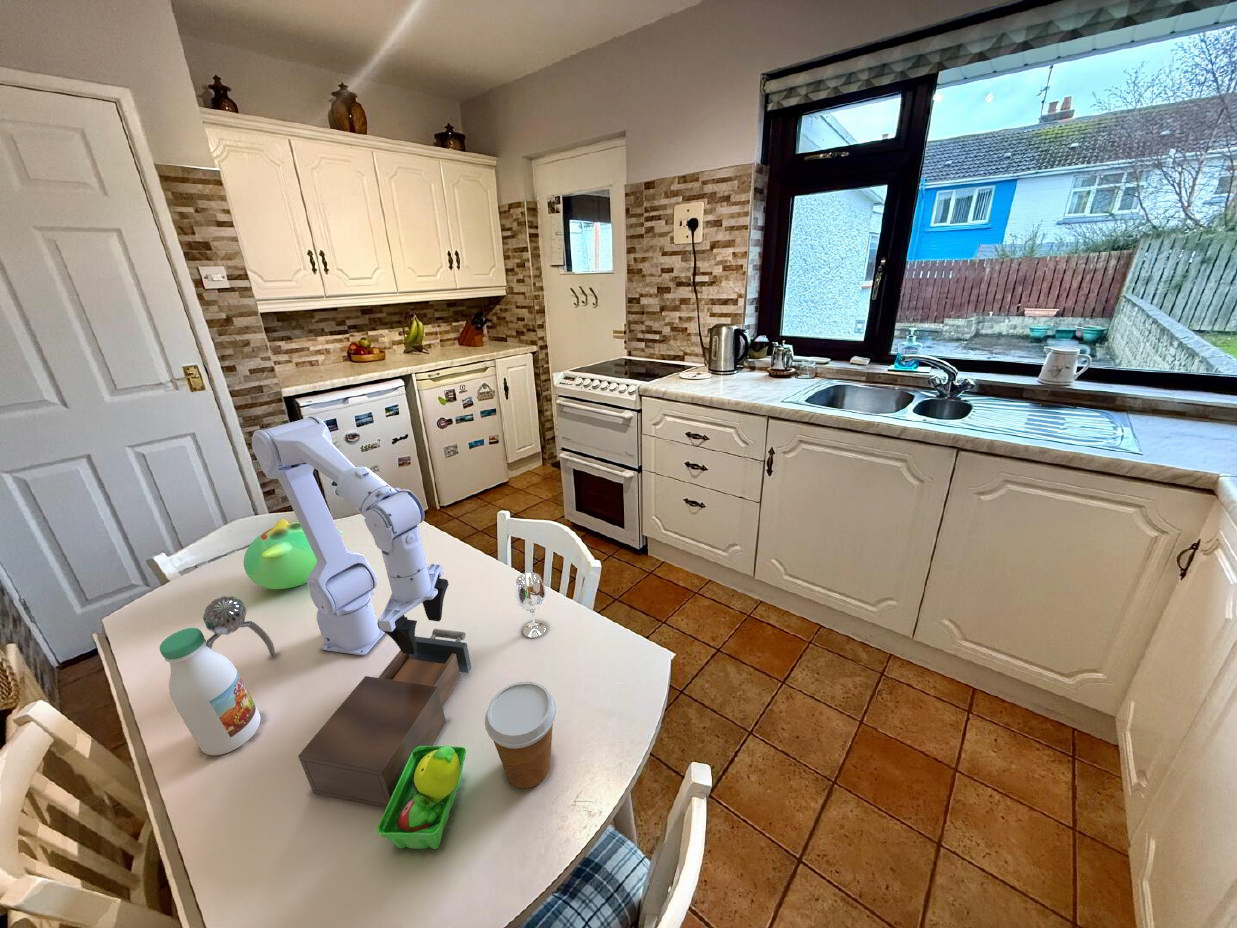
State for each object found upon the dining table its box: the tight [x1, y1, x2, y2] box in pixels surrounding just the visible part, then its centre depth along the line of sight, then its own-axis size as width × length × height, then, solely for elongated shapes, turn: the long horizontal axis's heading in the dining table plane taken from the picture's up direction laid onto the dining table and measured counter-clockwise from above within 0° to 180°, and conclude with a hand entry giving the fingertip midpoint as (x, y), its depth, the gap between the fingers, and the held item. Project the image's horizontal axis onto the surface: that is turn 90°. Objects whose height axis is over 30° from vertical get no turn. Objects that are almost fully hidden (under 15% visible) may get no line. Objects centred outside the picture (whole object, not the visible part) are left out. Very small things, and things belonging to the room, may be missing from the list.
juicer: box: [202, 595, 276, 657], centre depth 78 cm, size 10×11×30 cm
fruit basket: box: [376, 745, 467, 850], centre depth 62 cm, size 11×9×11 cm
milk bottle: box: [159, 627, 261, 756], centre depth 72 cm, size 8×8×20 cm
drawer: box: [377, 628, 472, 708], centre depth 82 cm, size 17×11×6 cm
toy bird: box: [243, 518, 343, 590], centre depth 110 cm, size 18×17×15 cm
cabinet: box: [297, 675, 447, 809], centre depth 71 cm, size 14×13×8 cm
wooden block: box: [392, 659, 444, 686], centre depth 81 cm, size 8×5×3 cm, turn 79°
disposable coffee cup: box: [484, 680, 557, 789], centre depth 68 cm, size 10×10×12 cm
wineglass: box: [514, 571, 547, 639], centre depth 94 cm, size 6×6×12 cm
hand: (422, 635), depth 81 cm, fingers open, 7 cm apart
